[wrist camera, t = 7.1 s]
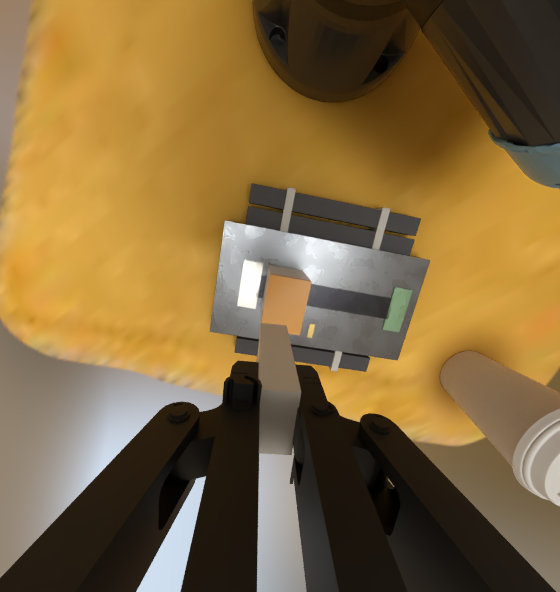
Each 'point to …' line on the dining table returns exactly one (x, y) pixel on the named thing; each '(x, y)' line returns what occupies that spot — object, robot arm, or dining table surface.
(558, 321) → the dining table surface
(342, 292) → the panel
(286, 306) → the lever
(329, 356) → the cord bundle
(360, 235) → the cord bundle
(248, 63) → the dining table surface
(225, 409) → the robot arm
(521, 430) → the coffee cup
